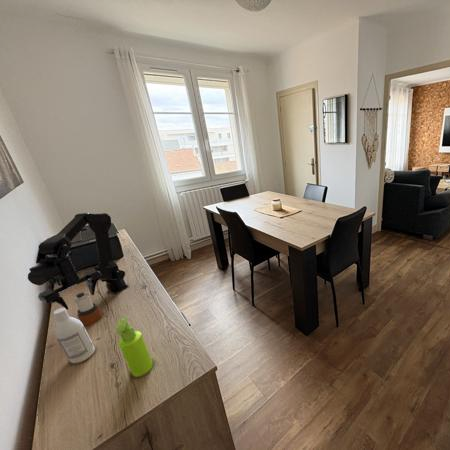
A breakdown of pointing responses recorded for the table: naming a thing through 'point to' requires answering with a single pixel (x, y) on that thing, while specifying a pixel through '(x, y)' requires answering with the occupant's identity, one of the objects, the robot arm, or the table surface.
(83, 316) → the amber bottle
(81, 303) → the white bottle
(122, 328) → the soap dispenser
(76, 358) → the bath foam
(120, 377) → the table surface
